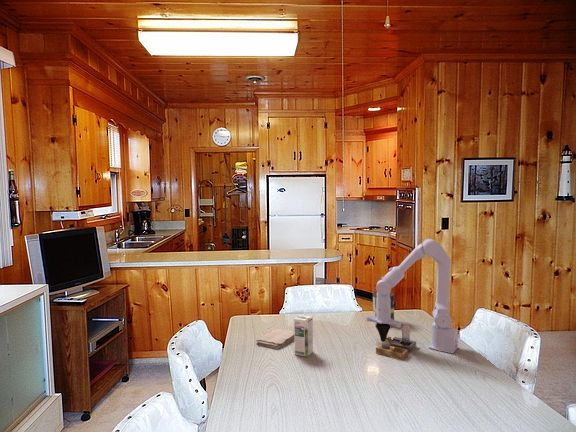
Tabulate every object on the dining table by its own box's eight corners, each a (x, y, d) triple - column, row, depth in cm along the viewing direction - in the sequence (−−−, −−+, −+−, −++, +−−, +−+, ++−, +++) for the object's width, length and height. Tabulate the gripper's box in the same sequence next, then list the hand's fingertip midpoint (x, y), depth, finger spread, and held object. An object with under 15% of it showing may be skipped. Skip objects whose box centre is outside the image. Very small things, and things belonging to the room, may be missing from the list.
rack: (408, 355, 148) (408, 345, 148) (403, 360, 144) (403, 349, 144) (381, 349, 154) (381, 339, 154) (375, 353, 151) (375, 343, 150)
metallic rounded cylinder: (410, 348, 155) (410, 326, 155) (408, 350, 153) (408, 328, 152) (403, 346, 157) (403, 324, 157) (400, 348, 155) (400, 326, 154)
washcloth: (254, 346, 161) (254, 338, 161) (277, 332, 177) (277, 326, 177) (278, 351, 155) (278, 343, 155) (299, 336, 171) (299, 330, 171)
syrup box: (294, 354, 150) (293, 318, 150) (300, 349, 156) (300, 314, 155) (307, 357, 148) (306, 320, 147) (313, 351, 153) (313, 316, 152)
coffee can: (391, 318, 192) (391, 291, 192) (396, 325, 182) (396, 296, 181) (370, 319, 193) (370, 291, 192) (375, 325, 182) (374, 296, 182)
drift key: (399, 345, 158) (399, 339, 158) (396, 347, 156) (396, 341, 156) (388, 342, 161) (388, 336, 161) (385, 345, 159) (385, 338, 158)
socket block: (416, 346, 156) (416, 341, 156) (409, 353, 150) (409, 347, 150) (395, 341, 162) (395, 336, 162) (387, 348, 156) (387, 342, 155)
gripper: (363, 308, 161) (363, 340, 162) (396, 314, 152) (396, 347, 153) (370, 304, 167) (370, 335, 168) (403, 310, 158) (403, 342, 159)
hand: (383, 340), depth 161 cm, fingers closed
